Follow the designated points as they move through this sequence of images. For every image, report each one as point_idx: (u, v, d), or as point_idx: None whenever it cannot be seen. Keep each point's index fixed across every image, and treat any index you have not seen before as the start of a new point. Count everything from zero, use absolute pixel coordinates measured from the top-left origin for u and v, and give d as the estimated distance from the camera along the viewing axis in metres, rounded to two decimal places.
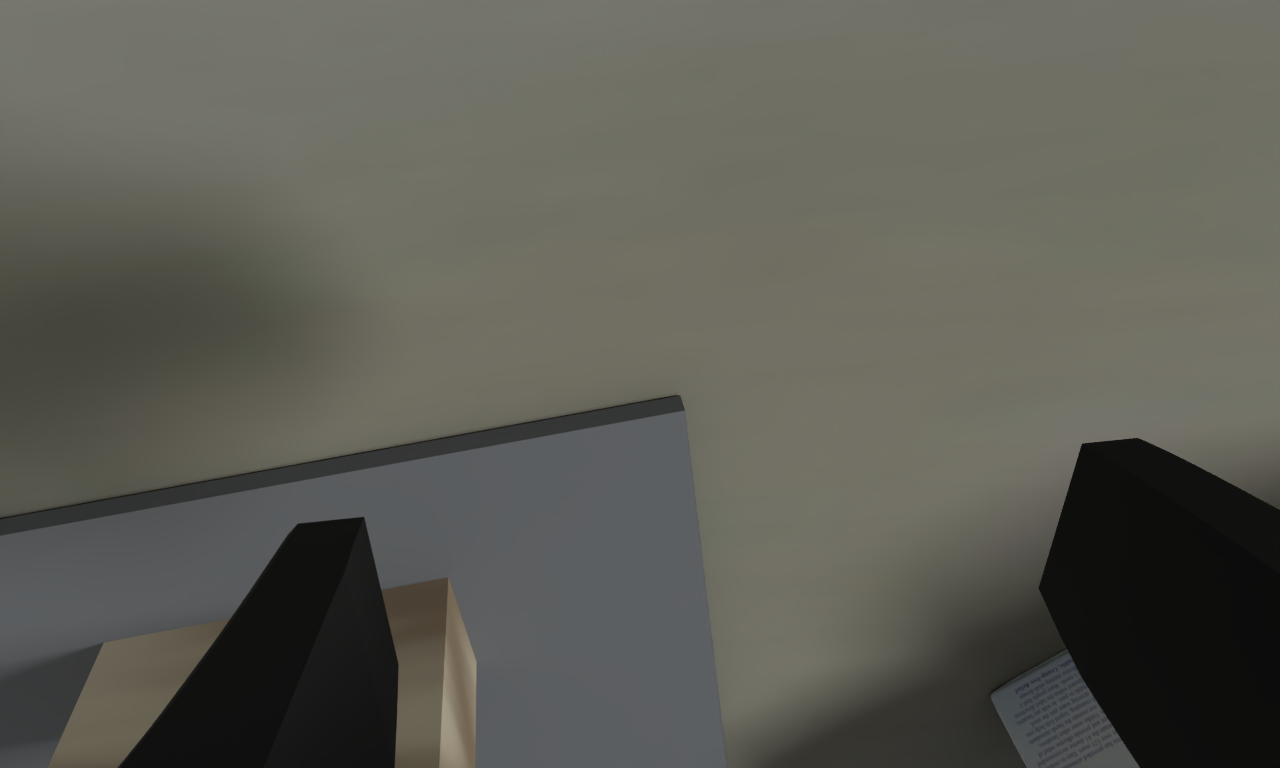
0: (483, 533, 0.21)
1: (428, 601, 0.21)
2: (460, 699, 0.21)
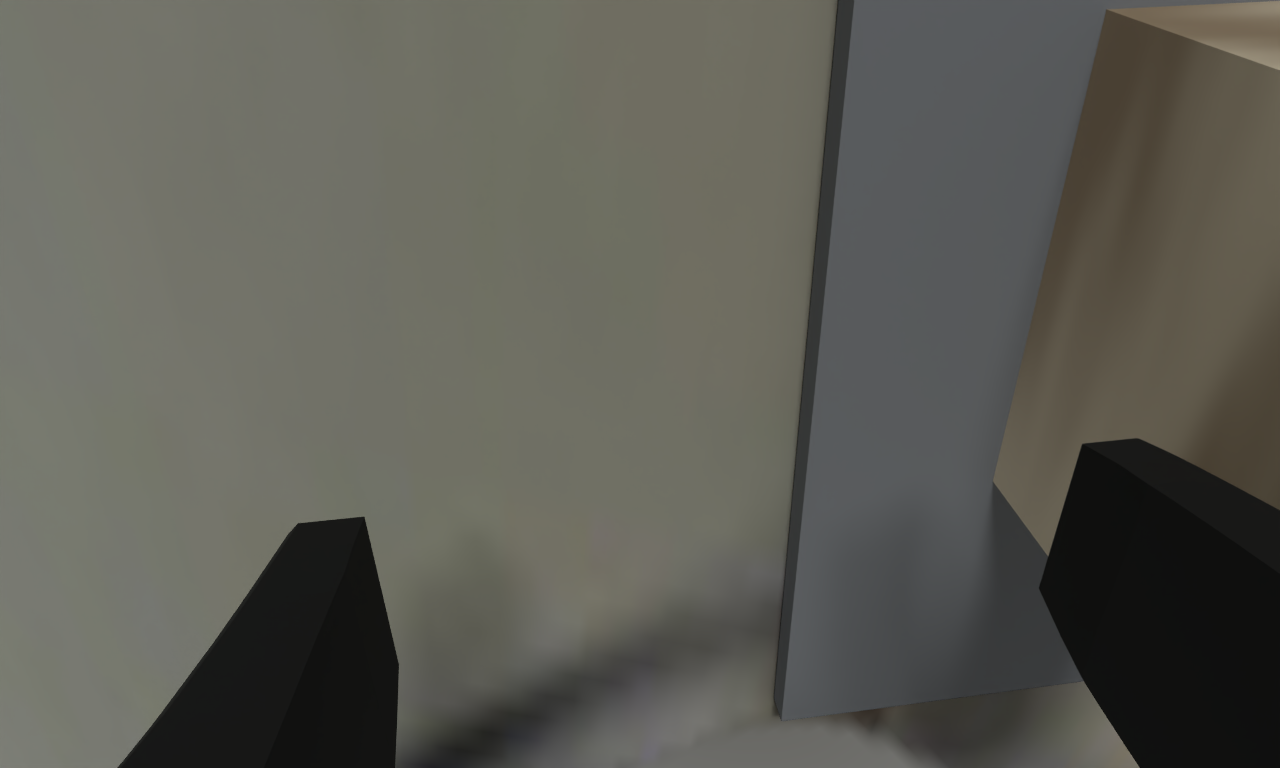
0: None
1: (1126, 55, 0.12)
2: None
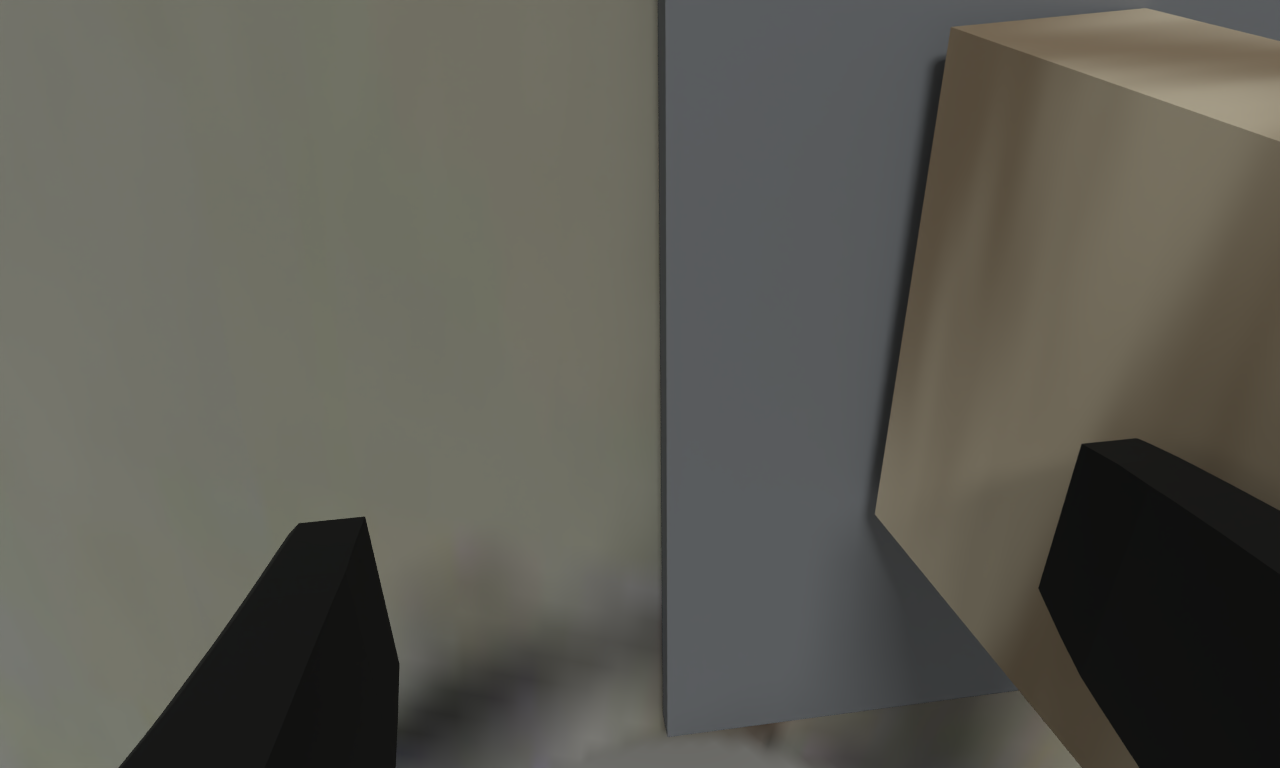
0: None
1: (976, 75, 0.11)
2: (1192, 58, 0.10)
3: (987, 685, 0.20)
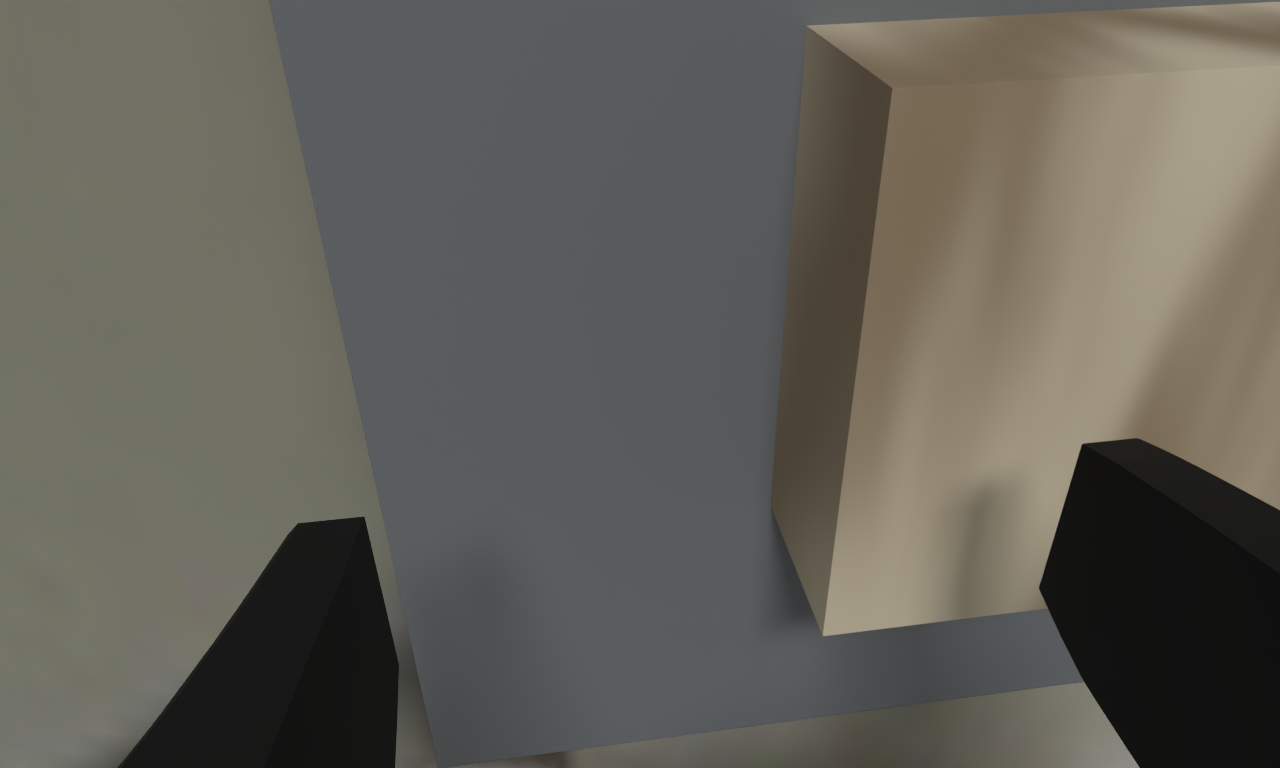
0: None
1: (948, 126, 0.10)
2: (1036, 43, 0.11)
3: (773, 713, 0.19)
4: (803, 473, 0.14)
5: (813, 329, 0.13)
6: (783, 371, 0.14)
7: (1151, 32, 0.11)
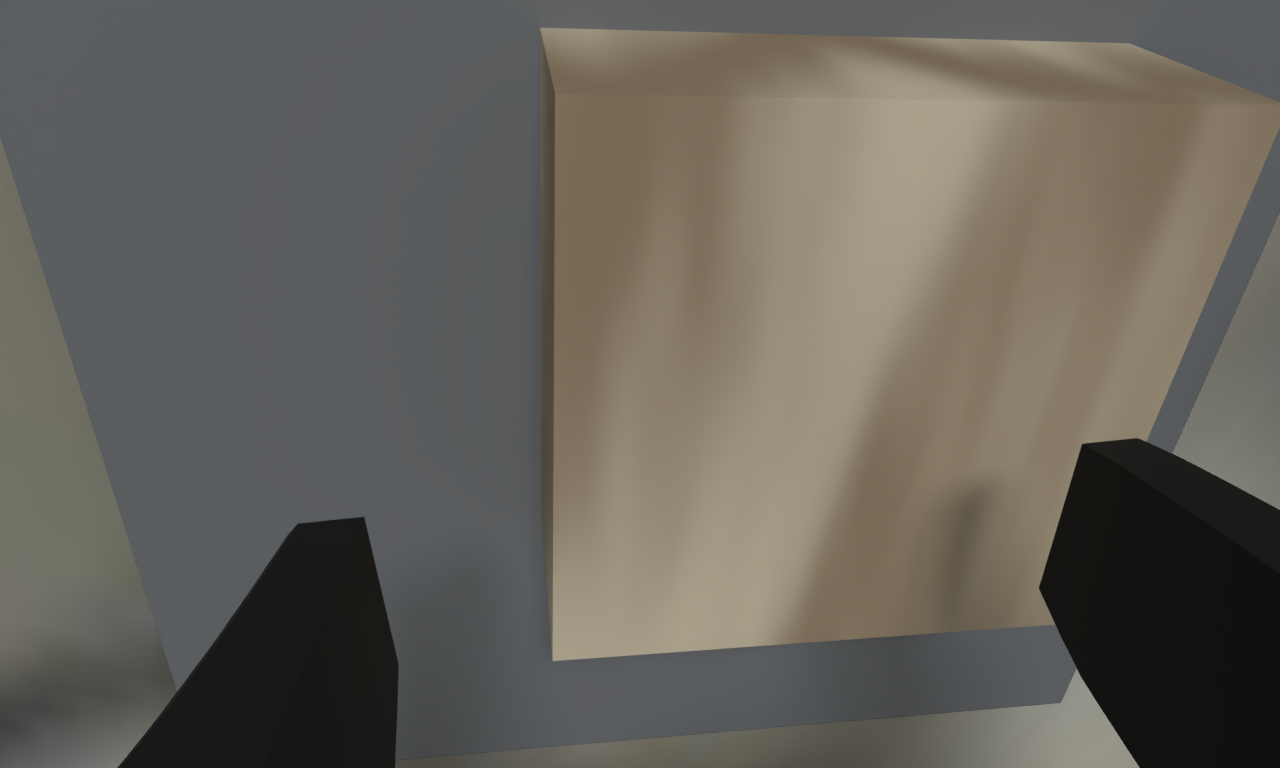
0: None
1: (621, 139, 0.09)
2: (752, 62, 0.11)
3: (563, 736, 0.19)
4: (546, 490, 0.13)
5: (546, 342, 0.12)
6: (541, 384, 0.14)
7: (878, 60, 0.11)
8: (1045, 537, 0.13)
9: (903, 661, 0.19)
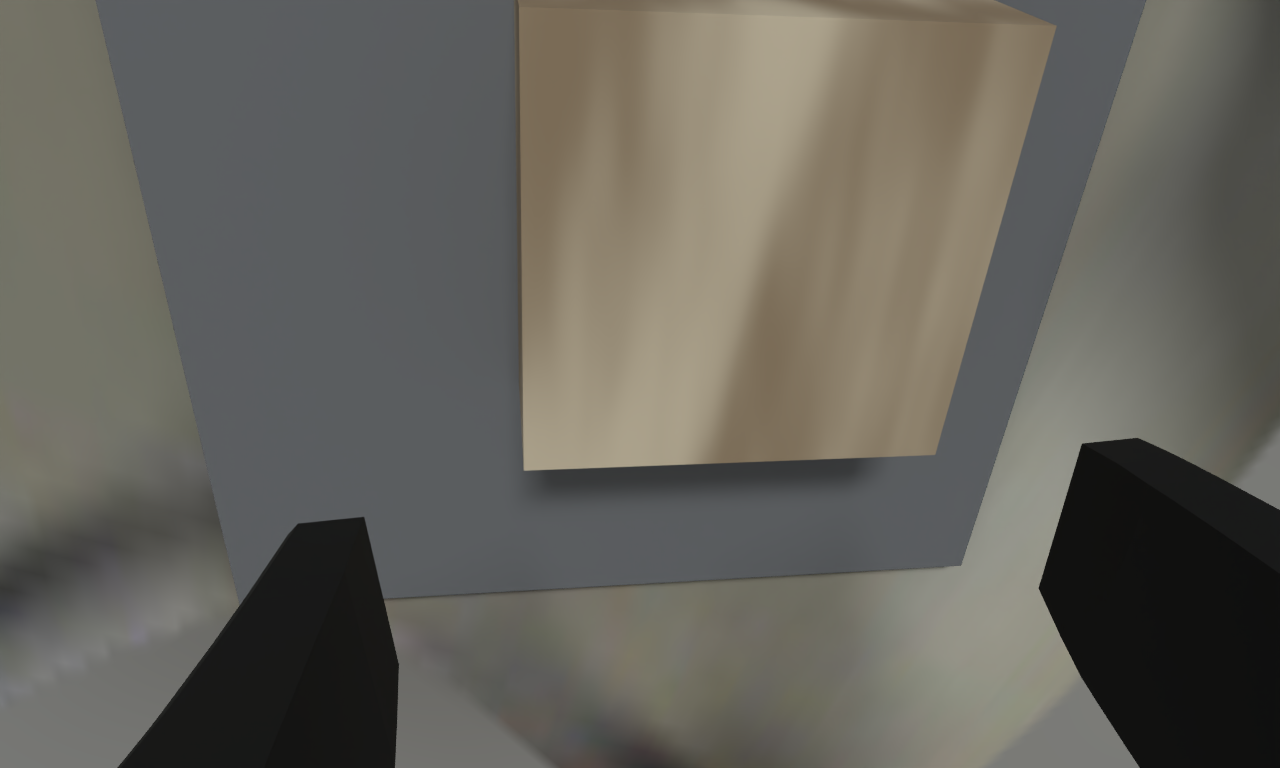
0: None
1: (566, 41, 0.13)
2: None
3: (538, 580, 0.23)
4: (520, 340, 0.17)
5: (518, 215, 0.16)
6: (517, 261, 0.18)
7: None
8: (908, 376, 0.17)
9: (823, 520, 0.23)
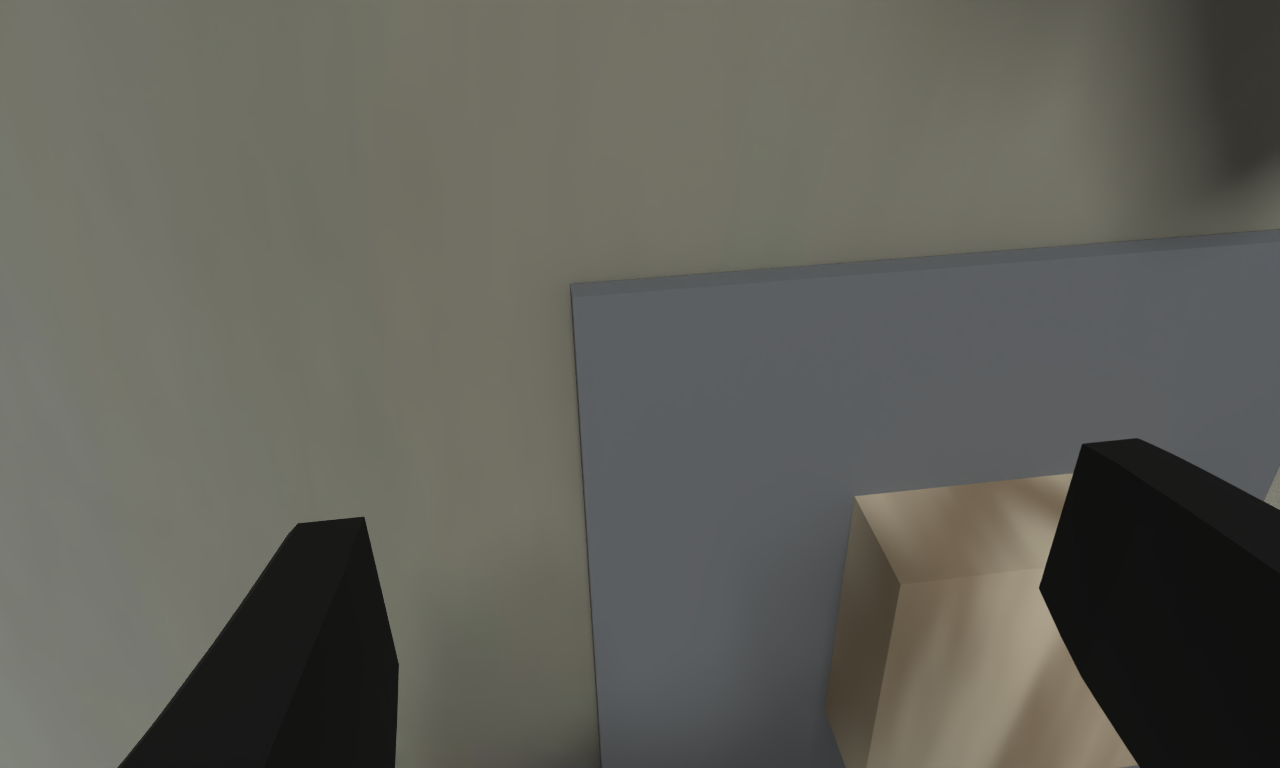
0: (686, 478, 0.21)
1: (927, 595, 0.20)
2: (972, 527, 0.22)
3: None
4: (848, 710, 0.25)
5: (856, 643, 0.23)
6: (836, 646, 0.25)
7: (1033, 514, 0.22)
8: None
9: None
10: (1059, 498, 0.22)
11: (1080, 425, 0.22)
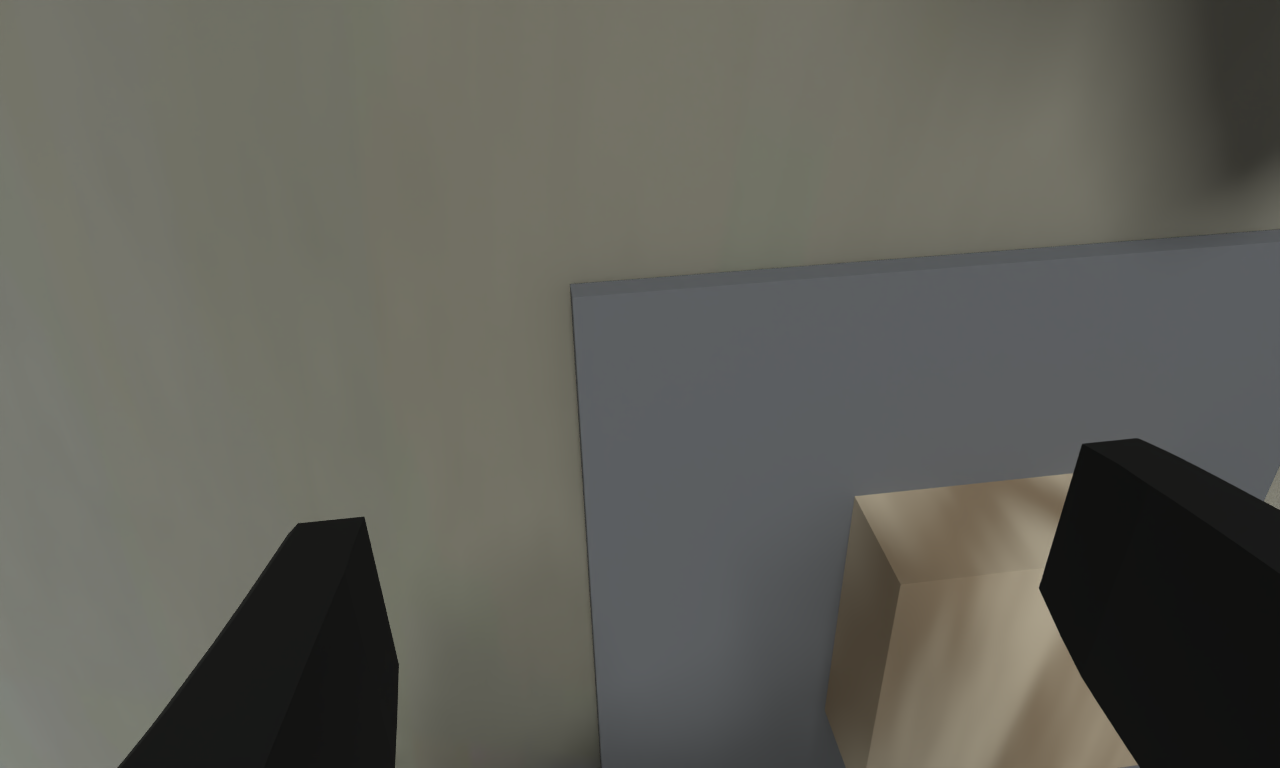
0: (686, 478, 0.21)
1: (927, 595, 0.20)
2: (972, 527, 0.22)
3: None
4: (848, 710, 0.25)
5: (856, 643, 0.23)
6: (836, 646, 0.25)
7: (1033, 514, 0.22)
8: None
9: None
10: (1059, 498, 0.22)
11: (1080, 425, 0.22)
